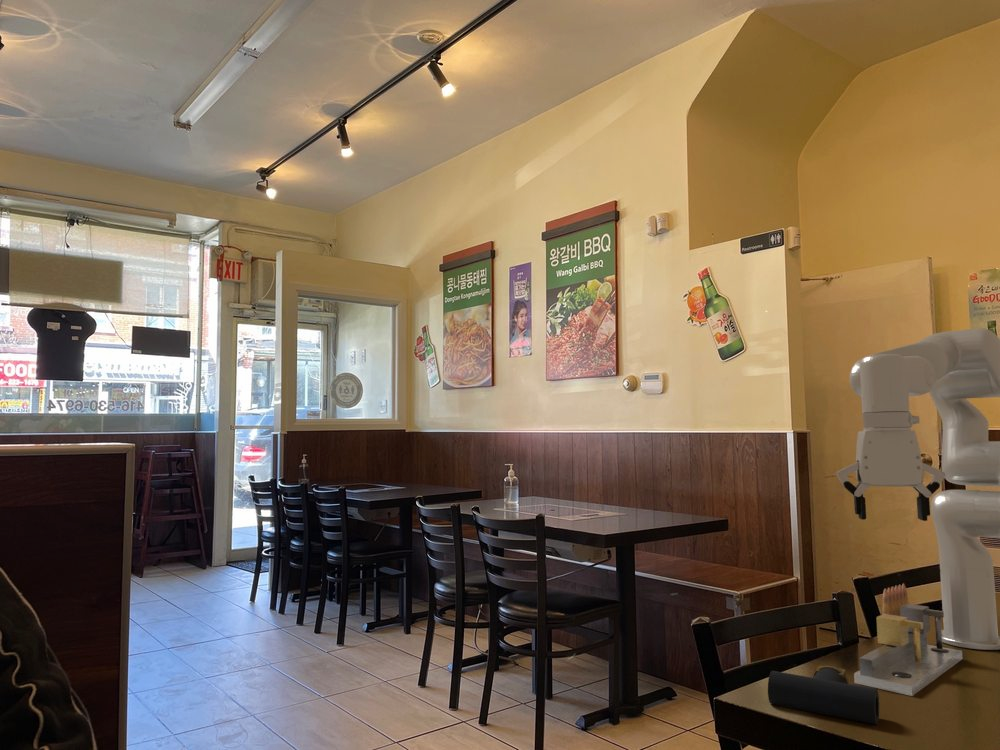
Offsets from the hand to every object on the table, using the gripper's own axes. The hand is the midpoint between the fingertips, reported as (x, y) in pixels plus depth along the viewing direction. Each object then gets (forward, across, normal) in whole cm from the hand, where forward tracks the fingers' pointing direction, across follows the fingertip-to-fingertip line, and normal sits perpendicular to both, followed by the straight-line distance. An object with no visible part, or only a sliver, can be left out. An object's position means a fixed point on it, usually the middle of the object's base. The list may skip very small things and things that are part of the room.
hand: (892, 519), depth 126 cm
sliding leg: (+26, -2, -7) cm, 27 cm away
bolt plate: (+28, -3, -8) cm, 29 cm away
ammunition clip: (+28, -6, -26) cm, 39 cm away
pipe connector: (+28, +14, +16) cm, 35 cm away
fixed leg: (+26, -9, -19) cm, 33 cm away
